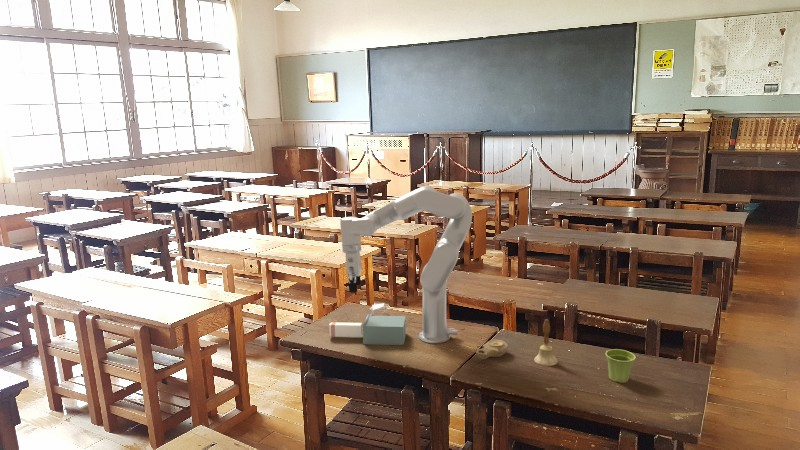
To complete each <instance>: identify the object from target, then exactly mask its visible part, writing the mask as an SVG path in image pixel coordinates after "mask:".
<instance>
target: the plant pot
mask: <svg viewBox="0 0 800 450" xmlns="http://www.w3.org/2000/svg"><path fill="white" fill-rule="evenodd" d="M604 355H605V357H606V360H607V368H608V369H607V370H608V378H609V379H610V380H611V381H612V382H618V383H620V384H622V383H627V382H628V381H629V378H630V374H631V369H632V366H633V364H634V362H635V360H636V357H637V356H636V355H635V354H634V352H633V353H632V352H630V351H628V350H625V349H618V348H614V349H609V350H606V352H605V354H604Z"/></svg>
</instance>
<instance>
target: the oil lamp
mask: <svg viewBox="0 0 800 450" xmlns="http://www.w3.org/2000/svg"><path fill="white" fill-rule="evenodd" d="M481 347H482V348H476V351H475V355H476V356H477V357H478V358H480V359H488V358H489V357H492V358H499V357H500V356H501V357H502V356H503V355H504V354H506V353H507V352H508V350H509V345H508V344H507V342H505V341H504V340H501V339H490V340H489V341H487V342H486V343H485V344H482V346H481Z"/></svg>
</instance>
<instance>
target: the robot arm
mask: <svg viewBox="0 0 800 450" xmlns="http://www.w3.org/2000/svg"><path fill="white" fill-rule="evenodd" d="M423 211H424V212H426V213H428V214H433V215H436V216H440V217H443V218H447V219H449V220H448V223H447V224H446V227H445V230H444V232H443V233H442V235H441V236H440V239H439V240H438V242H437V243H436V245H435V247H434V249H433V251H432V254H431V256H430V257H429V260H428V262H427V263H426V264H425V265H424V266H423V268H422V271H421V274H420V281H419V282H420V285H421V287H422V330H421V331H420V332H419V333H418V338H419V339H420V340H421V341H422V342H424V343H429V344H442V343H445V342H447V341H449V340H450V339H451V335H456V336H458V329H455V328H453V327H452V328H449V327H448V324H447V281H448V279H449V278H450V276H451V274H452V272H453V270H454V268H455V266H456V264H457V262H458V260H459V254H460V253H459V252H460V249H461V247H462V246H463V244H464V242H465V239H466V237H467V235H468V234H469V231H470V228H471V225H472V221H473V211H472V207H471V204H470V203H469V200H467V198H466V197H465V196H464V195H463V194H461V193H458V192H454V193H450V194H446V193H443V192H439V191H437V190H436V189H435V188H434V187H433V186H431V185H423V186H419V188H417V189H413V190H412V191H410V192H408V193H406V194H404V195H402V196H401V197H399V198H396V199H395V200H392V201H391V202H388V204H386V205H383V206H380V207H379V208H377V209H375V210H374V211H371V212H369V213H367V214H365V216H362V217H361V218H358V217H357V216H345V217H342V218H341V219H340V221H339V222H340V235H341V237H340V238H341V245H342V247H341V248H342V253H343V254H345V267H346V268H345V269H346V276H347V277H348V293H358V286H361V285H362V283H361V274H362V271H363V268H362V267H363V266H362V259H361V251H362V241H361V239H362V238H361V236H362V237H363V236H364V237H370V236H373V235H374V234H375V233H376V232H377V231H378V230H380V229H381V228H383V227H385V226H387V225H390V224H391V223H394V222H398V221H403V220H406V219H409V218H410V217H412V216H415V215H416V214H419V213H421V212H423Z"/></svg>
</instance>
